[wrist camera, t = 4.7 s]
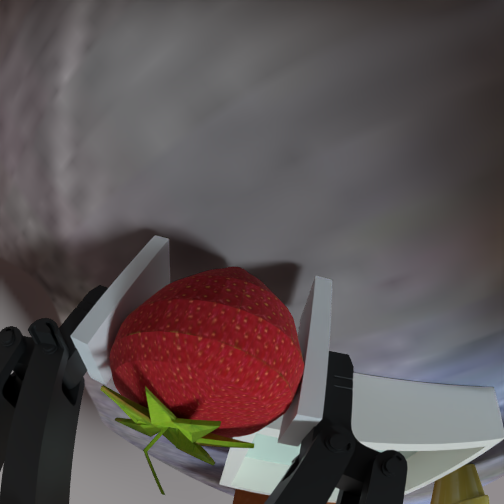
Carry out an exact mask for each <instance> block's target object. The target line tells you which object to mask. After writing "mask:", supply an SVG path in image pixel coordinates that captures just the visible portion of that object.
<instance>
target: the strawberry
mask: <svg viewBox="0 0 504 504" xmlns="http://www.w3.org/2000/svg"><path fill="white" fill-rule="evenodd" d="M109 360H110V368H111V372H112V377H113V381H114V384H115V386H116V389H117V390H118V391H119V393H120V394H121V395H120V394H118V393H116V392H115V391H113V390H111V389H109V388H107V387H106V386H104V385H103V386H101V389H100V390H101V391H102V392H104V393H105V394H106V395H107V396H108V397H109V398H111V399H112V400H113V401H114V402H115V403H117V405H118V406H119V407H120V408H121V409H122V410H123V411H124V412H125V413H126V414H127V415H128V416H129V417H130V418H131V419H124V418H116V419H115V421H117V422H120V423H122V424H124V425H126V426H128V427H130V428H132V429H134V430H137V431H139V432H141V433H143V434H146V435H148V436H150V437H151V436H153V435H155V434H157V433H158V434H157V435H156V437H155V438H154V439H153V440H152V441H151V442H150V443H149V444H148V445H147V447H146V448H145V449H144V450H143V451H144V453H145V456H146V458H147V461H148V463H149V466H150V468H151V471H152V473H153V476H154V478H155V480H156V483H157V484H158V487H159V489H160V491H161V493H162V494H163V495H165V494H164V491H163V490H162V487H161V485H160V483H159V480H158V478H157V476H156V473H155V471H154V468H153V466H152V464H151V461H150V459H149V456H148V453H147V451H148V450H149V449H150V448H151V447H152V445H153V444H154V443H155V442H156V441H157V440H158V439H159V438H160V436H161V435H163V436H165V437H166V438H167V439H168V440H169V441H170V442H171V443H173V444H174V445H175V446H176V448H178V449H180V450H181V451H183V452H185V453H187V454H190V455H192V456H194V457H196V458H198V459H200V460H202V461H204V462H206V463H209V464H211V465H214V464H215V462H214V460H213V459H212V458H211V457H210V455H209V454H208V453H207V452H206V451H205V450H204V449H203V448H202V447H201V446H200V445H202V446H214V447H230V448H254V444H253V443H249V442H244V441H240V440H236V439H231V438H230V437H241V436H246V435H250V434H253V433H255V432H258V431H260V430H261V429H263V428H264V427H266V426H267V425H269V424H270V423H272V422H274V421H275V420H277V419H278V418H279V417H281V416H282V415H283V414H285V413H286V411H287V410H288V408H289V407H290V405H291V403H292V401H293V399H294V396H295V394H296V392H297V389H298V387H299V384H300V382H301V379H302V376H303V371H304V362H303V358H302V353H301V349H300V345H299V340H298V336H297V332H296V327H295V323H294V319H293V317H292V315H291V313H290V312H289V310H288V308H287V307H286V306H285V305H284V304H283V303H282V302H281V301H280V300H279V299H278V298H277V297H276V296H275V295H274V294H273V293H272V291H271V290H270V289H269V288H268V287H267V286H266V285H265V284H264V283H263V282H262V281H261V280H259V279H258V278H256V277H254V276H253V275H251V274H249V273H248V272H247V271H246V270H244V269H242V268H240V267H228V268H223V269H213V270H208V271H204V272H201V273H198V274H195V275H192V276H189V277H186V278H183V279H180V280H177V281H175V282H173V283H170V284H168V285H166V286H165V287H163V288H162V289H161V290H159V291H158V292H156V293H155V294H154V295H153V296H151V297H150V298H149V299H148V300H146V301H145V302H144V303H143V304H141V305H140V306H139V307H138V308H136V309H135V310H134V311H133V312H131V313H130V314H129V315H128V316H127V317H126V318H125V320H124V321H123V322H122V324H121V326H120V329H119V331H118V333H117V336H116V338H115V341H114V343H113V346H112V348H111V352H110V355H109Z"/></svg>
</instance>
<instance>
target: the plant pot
mask: <svg viewBox="0 0 504 504" xmlns="http://www.w3.org/2000/svg"><path fill="white" fill-rule="evenodd" d="M431 504H489V497H488V495H485V494H484V491H483V488H482V485H481V482H480V479H479V476H478V473H477V470H476V467H475V465H474V464H466V465H463V466H462V467H460V468H458V469H457V470H455V471H453V472H451V473H449V474H447V475H446V476H444V477H442V478H440V479H438V480H436V481H435V484H434V489H433V494H432V499H431Z"/></svg>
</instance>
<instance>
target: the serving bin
mask: <svg viewBox="0 0 504 504" xmlns="http://www.w3.org/2000/svg"><path fill="white" fill-rule="evenodd" d="M352 391H353V400H352V419H351V427H352V432H353V434H354V436H355V438H356V439H357V440H358V441H359V442H360V443H361V444H363V445H365V446H367V447H369V448H371V449H374V450H376V451H378V452H383V451H386V450H395V451H398V452H400V453H401V454H402V455H403V456H404V457H405V459H406V461H407V467H408V470H407V478H406V485H405V492H404V495H406V494H408V493H410V492H413V491H415V490H417V489H419V488H422V487H424V486H426V485H428V484H430V483H432V482H434V481H436V480H438V479H440V478H442V477H444V476H446V475H447V474H449V473H451V472H453V471H455V470H457V469H458V468H460V467H462V466H463V465H465V464H467V463H469V462H470V461H472V460H473V459H475V458H477V457H478V456H480V455H481V454H483V453H484V452H486V451H487V450H489V449H490V448H492V447H493V446H495V445H496V444H498V443H499V442H500V441H502V440H503V439H504V427H503V422H502V418H501V413H500V409H499V405H498V401H497V397H496V394H495V390H494V387H477V386H460V385H446V384H435V383H425V382H416V381H407V380H399V379H391V378H384V377H377V376H370V375H364V374H358V373H353V389H352ZM282 419H283V415H282V416H281V417H279V418H278V419H277V420H275V421H274V422H272V423H270V424H269V425H267V426H266V427H264V428H263V429H261V430H260V431H258V432H255V433H253V434H250V435H246V436H241V437H233V439H236V440H240V441H244V442H249V443H253V444H254V448H230V450H229V453H228V457H227V460H226V463H225V467H224V470H223V474H222V477H221V480H220V485H223V486H227V487H232V488H236V489H240V490H245V491H249V492H254V493H260V494H265V495H271V493H272V492H273V491H274V489H275V488H276V486H277V485H278V483H279V482H280V481H281V479H282V478H283V476H284V475H285V473H286V472H287V470H288V469H289V467H290V466H291V464H292V462H291V461H292V460H293V459H294V458H295V457H296V456H297V455H298V454H299V453H300V447H301V444H300V445H299V446H298V447H297V446H291V445H286V444H281V443H277V442H278V438H279V433H280V428H281V424H282ZM338 493H339V489H338V488H335V489H334V491H333V493H332V495H331V497H330V498H329V500H328V502H332V503H336V501H337V497H338Z"/></svg>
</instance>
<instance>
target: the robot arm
mask: <svg viewBox="0 0 504 504" xmlns="http://www.w3.org/2000/svg"><path fill="white" fill-rule="evenodd" d="M170 283H171V281H170V253H169V239H168V238H164V237H160V236H156V235H155V236H154V237H153V238H152V239H151V240H150V241H149V242H148V243H147V244H146V245H145V247H144V248H143V249H142V250H141V251H140V252H139V253H138V254H137V256H136V257H135V258H134V259H133V260H132V261H131V262H130V263H129V265H128V266H127V267H126V268H125V269H124V270H123V272H122V273H121V274H120V275H119V276H118V277H117V279H116V280H115V281H114V282H113V283H112V285H111V286H110V287H109V288H106V287H104V286H101V285H99V286H98V287H96V288H94V289H93V290H91V291H90V292H89V293H88V294H87V295H86V296H85V297H84V299H83V301H81V302H80V303H79V304H78V306H77V308H75V309H74V310H73V312H72V313H71V314H70V315H69V317H68V318H67V319H66V320H65V321H64V323H63V324H62V325H61V326H60V328H58V326H57V324H56V323H55V322H54V321H53V320H51V319H48V318H42V319H39V320H36V321H35V322H34V323H32V324H31V325H30V327H29V329H28V331H29V333H30V335H31V336H32V338H31V337H26V336H23V335H22V334H21V332H20V330H19V329H18V328H17V327H13V326H10V327H6V328H4V329H3V330H2V331H1V332H0V471H1V468H2V466H3V463H4V467H3V474H2V483H1V492H0V504H69V495H70V480H71V469H72V459H73V451H74V450H73V449H74V443H75V435H76V429H77V423H78V416H79V411H80V405H81V400H82V395H83V390H84V378H83V376H84V374H85V373H86V371H88V373H89V375H90V377H91V378H92V379H94V380H96V381H98V382H100V383H102V384H104V385H107V383H108V381H109V380H110V378H111V376H112V372H111V368H110V360H109V355H110V352H111V348H112V346H113V343H114V341H115V338H116V336H117V333H118V331H119V329H120V326H121V324H122V322H123V321H124V320H125V318H126V317H127V316H128V315H129V314H130V313H131V312H133V311H134V310H135V309H136V308H138V307H139V306H140V305H141V304H143V303H144V302H145V301H146V300H148V299H149V298H150V297H151V296H153V295H154V294H155V293H156V292H158V291H159V290H161V289H162V288H163V287H165V286H166V285H168V284H170ZM331 305H332V279H328V278H324V277H319V276H315V279H314V282H313V285H312V288H311V291H310V294H309V296H308V299H307V302H306V305H305V308H304V310H303V313H302V316H301V319H300V326H299V332H298V340H299V345H300V349H301V353H302V358H303V362H304V371H303V376H302V379H301V382H300V384H299V387H298V389H297V392H296V394H295V396H294V399H293V401H292V403H291V405H290V407H289V408H288V410H287V411H286V413H285V414H283V419H282V424H281V428H280V433H279V438H278V442H277V443H281V444H286V445H291V446H297V447H298V446H299V445H300V444H301V447H300V453H299V454H298V455H297V456H296V457H295V458H294V459H293V460H292V461H291V462H292V464H291V466H290V467H289V469H288V470H287V472H286V473H285V475H284V476H283V478H282V479H281V481H280V482H279V483H278V485H277V486H276V488H275V489H274V491H273V492H272V493H271V495H270V496H269V497H268V499H267V500H266V502H265V503H264V504H326V503H327V502H328V500H329V498H330V497H331V495H332V493H333V491H334V489H335V488H338V489H339V493H338V497H337V501H336V504H403V499H404V492H405V485H406V478H407V470H408V467H407V461H406V459H405V457H404V456H403V455H402V454H401V453H400V452H398V451H395V450H386V451H383V452H378V451H376V450H374V449H371V448H369V447H367V446H365V445H363V444H361V443H360V442H359V441H358V440H357V439H356V438H355V436H354V434H353V432H352V427H351V419H352V400H353V391H352V389H353V364H352V362H351V359H350V357H349V355H347V354H342V353H337V352H332V351H329V342H330V325H331ZM12 370H13V371H14V372H13V373H12V374H11V372H12Z"/></svg>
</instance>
